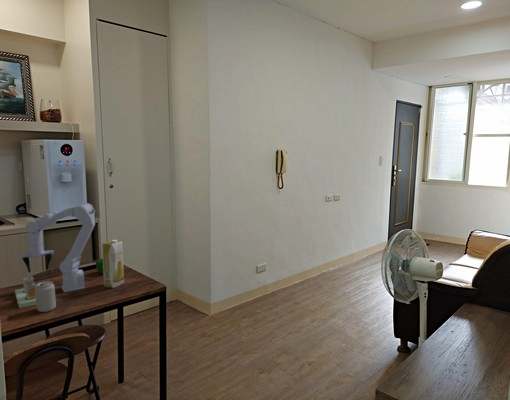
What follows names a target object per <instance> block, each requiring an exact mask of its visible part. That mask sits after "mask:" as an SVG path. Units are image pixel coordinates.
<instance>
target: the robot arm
mask: <svg viewBox="0 0 510 400" xmlns="http://www.w3.org/2000/svg"><path fill="white" fill-rule="evenodd" d="M95 213H96V210H95V208H94V206H93V205H92V204H91V203H89V202H85V203H83V204H78V205H75V206H71V207H68V208H66V209H64V210H62V211H59V212H57V213H55V214H53V213H44V214H43V216H40V217H36V218H35V219H34V220H29V221H28V222H27V223H26V224H25V230H26V231H27V232H28V242H29V252H26V253H21V254H19V259H20V260H22V261H23V262H24V264H25V266H26V268H27V271H28V273H29V274H30V273H31V268H30V264H31V263H30V258H37V257H43V256H44V259H45V270H49V265H50V262H51V260H52V258H53V256H52V255H55V252H54V250H53V249H52V250H51V249H49V250H48V249H47V250H44V241H43V239H44V238H43V230H44V229H48V228H49V227H52V226H53V225H56V223H57V221H59V220H61V219H64V218H67V217H73V218H74V217H75V218H76V219H77V220H78V222H80V224H81V228H80V231H78V235H77V236H76V239H75V241H74V243H73V244H72V247H71V249H70V251H69V253H68V254H67V256H66V257H65V258H64V260H63V261H62V262H60V264H59V270H60V271H61V273H62V285H61V289H62V291H63V293H67V292H73V291H77V290H83V289H85V288H86V287H85V276H84V275H85V274H84V271H83V269H79V267H80V264H81V258H82V253H83V251H84V248H85V246H86V244H87V242H88V240H89V238H90V236H91V234H92V232H93V230H94V229H95V226H96V222H95V221H96V219H95Z"/></svg>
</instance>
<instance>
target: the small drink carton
mask: <svg viewBox="0 0 510 400" xmlns="http://www.w3.org/2000/svg"><path fill="white" fill-rule="evenodd" d="M34 280H35V279H34V277H33V276H27V277H23V278H22V284H23V288H24V293H26V288H25V285H26V284H32V283H35V282H34Z"/></svg>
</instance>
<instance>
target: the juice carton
mask: <svg viewBox="0 0 510 400" xmlns="http://www.w3.org/2000/svg"><path fill="white" fill-rule="evenodd" d="M101 249H102V251H101V252H102V254H101V255H102V258H103V276H102V277H103V286H104V287H107V288H113V289H114V288H116V287H119V286H121V285H122V284H124V282H125V278H124V276H125V275H124V274H125V273H124V272H125V271H124V250H123V241H121V240H118V239H112V240H110V241H107V242H103V243H101Z"/></svg>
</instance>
